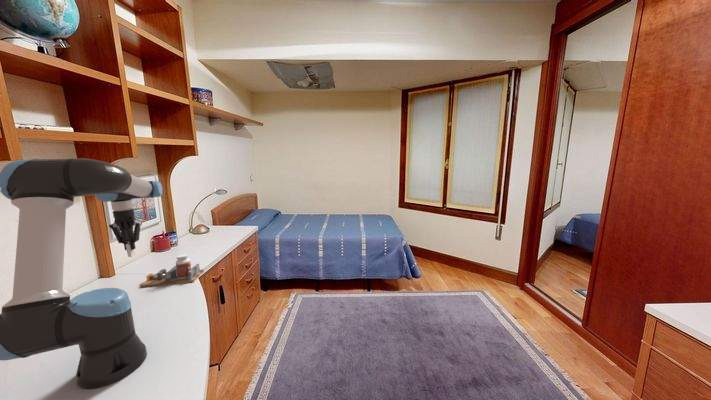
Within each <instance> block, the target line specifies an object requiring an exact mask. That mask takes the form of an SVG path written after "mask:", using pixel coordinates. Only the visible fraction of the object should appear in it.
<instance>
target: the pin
mask: <svg viewBox="0 0 711 400" xmlns="http://www.w3.org/2000/svg"><path fill="white" fill-rule="evenodd" d="M154 278H157V275H155V274H153V273H149V274H148V275H146V281H148V280H151V279H154ZM163 278H165V274H163Z"/></svg>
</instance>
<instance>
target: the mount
mask: <svg viewBox="0 0 711 400" xmlns="http://www.w3.org/2000/svg"><path fill="white" fill-rule="evenodd" d="M204 271H205V270H204V268H203V269H200V263H196V264H194V266H193V267H191V270H190V271H189V272H188V277H182V278H178V275H177V268H176V265H175V266H173V267H172V268H170V269H169V270H168V271H167V269H166V268H163V269H161V270H159V271H158V272H156V273H155V274H154V275H157V278H154V279H151V280H148V281H147V280H145V281H144V282H143V283H141V284H140V285H139V288H149V287H151V288H152V287H159V286H168V285H179V284H181V285H182V284H189V283H195V281H196V280H197V279H198V278H199V277H200V276H201V275H202V273H204ZM163 274H165V278H163Z"/></svg>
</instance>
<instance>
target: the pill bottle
mask: <svg viewBox="0 0 711 400" xmlns="http://www.w3.org/2000/svg"><path fill="white" fill-rule="evenodd" d="M191 264H192V263H191V259H190V258H189V256H188V254H187V253H183V254H178V255H177V256H176V261H175V266H176V268H177V275H178V278H182V277H188V272H189V271H190V270H191V269H192V265H191Z"/></svg>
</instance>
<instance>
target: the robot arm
mask: <svg viewBox="0 0 711 400" xmlns="http://www.w3.org/2000/svg"><path fill="white" fill-rule="evenodd" d="M0 192H1V194H2V195H3V196H4V197H5V198H6V199H8V200H10V203H11V205H13V206H14V207H16V208H18V210H19V212H18V225H17V239H16V250H15V263H14V273H13V274H14V275H13V287H12V298H11V299H10V300H8V301H7V302H6V303H5V304H3V305H2V306H1V312H0V361H11V360H16V359H25V358H28V357H31V356H34V355H35V356H36V355H39V354H42V353H47V352H51V351H55V350H59V349H64V348H68V347H73V346H77V345H78V347H79V351H80V357H79V361H78V366H77V370H76V373H75V380H76V384H77V386H78V387H79V388H81V389H83V390H84V389H85V390H91V389H97V388H100V387H101V388H102V387H105V386H108V385H111V384H113V383H116V382H117V381H120V380H121V379H123V378H125V377H127V376H128V375H130V374H131V373H133V372H134V371H136V369H138V368H139V367H140V366H141V365H142V364H143V363H144V362H145V360H146V359H147V356H148V352H147V346H146V345H145V343H144V342H143V341H142V340H141V338H140V337H139V336H138V335H137V333H136V329H135V321H134V317H133V311H132V310H133V309H132V301H131V300H130V298H129V294H128V292H127V291H126V290H124V289H122V288H119V287H104V288H97V289H92V290H90V291H83V292H82V293H80V294H77V295H75V296H74V297H73V298H72V299H71V294H69V293H66V292H65V291H64V290H63V284H64V279H63V278H64V266H65V265H64V263H65V262H64V259H65V243H66V242H65V241H66V240H65V239H66V238H65V237H66V235H65V234H66V217H67V216H66V215H67V209H68V208H69V209H70V207H72V206H74V203H75V201H74V199H75V197H77V198H78V197H87V196H89V197H90V196H94V197H95V198H96V199H97V200H99V201H101V202H104V203H105V202H106V203H107V202H108V203H109V202H110V205H111V210H112V214H113V219H114V221H113V222H112V224H109V225H108V226H109V228H110V229H111V230H112V232H113V234H114V237H115V238H116V240H117V242H118V244H123V247H124V251H126V253H127V257H128V258H132V257H134V256H135V255H136V254H135V253H136V252H135V249H136V243H137V242H138V241H140V235H141V234H140V232H141V226H142V224H143V222H142V221H137V219H136V218H135V209H134V204H133V200H134V199H149V198H153V199H155V198H160V197H161V196H162V195H163V185H162V183H161V182H160V181H157V180H151V181H149V180H146V179H142V178H140V177H137V176H135V175H133V174H131V173H130V172H129V171H128V170H127V169H126V168H124V167H121V166H119V165H116V164H114V163H110V162H106V161H102V160H99V159H98V160H97V159H91V158H84V157H82V158H81V157H80V158H78V157H77V158H28V159H18V160H17V159H16V160H14V161H11V162H9V163H7V164H5V165H4V167H3V168H2V169H1V170H0Z"/></svg>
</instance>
